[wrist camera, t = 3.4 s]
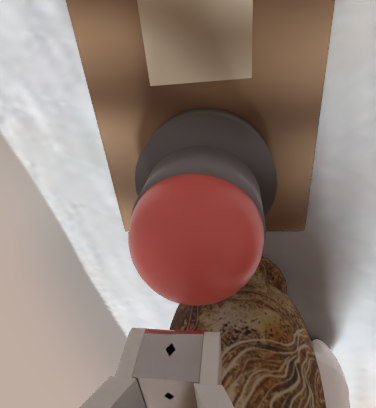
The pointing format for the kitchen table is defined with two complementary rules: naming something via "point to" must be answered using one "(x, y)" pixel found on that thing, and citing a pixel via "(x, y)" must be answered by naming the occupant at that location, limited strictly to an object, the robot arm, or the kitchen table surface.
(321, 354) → the water bottle
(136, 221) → the dome
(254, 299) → the vase
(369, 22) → the kitchen table surface
